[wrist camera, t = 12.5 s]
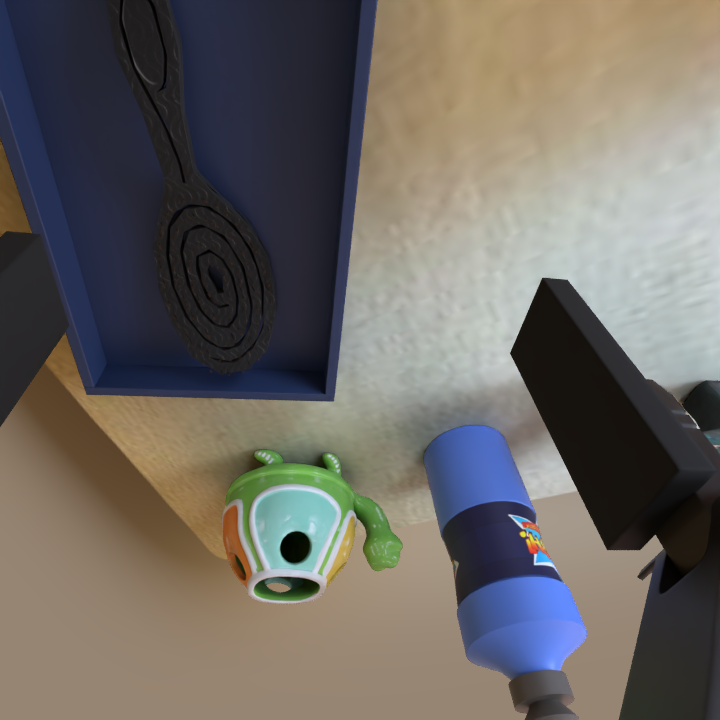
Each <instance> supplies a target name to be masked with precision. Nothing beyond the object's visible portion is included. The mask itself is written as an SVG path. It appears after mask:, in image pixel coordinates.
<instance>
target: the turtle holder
mask: <svg viewBox="0 0 720 720" xmlns="http://www.w3.org/2000/svg"><path fill="white" fill-rule="evenodd" d="M254 456H255V458H256V459H257V460H258V461H260V462H261V463H263V464H264V465H265V466H264V467H260V468H258V469H255V470H252V471H249V472H247V473H244V474H242V475H241V476H239V477H238V478H237V479H236V480H235V481H234V482H233V483H232V484H231V486H230V488H229V490H228V492H227V495H226V507H225V509H224V510H223V513H222V526H223V541H224V546H225V550H226V554H227V557H228V560H229V563H230V565H231V568H232V570H233V571H234V573H235V574H236V576H237V577H238V579H239V580H240V581H241V583H242V585H243V586H244V588H245V589H246V590H247V592H248V594H249V596H250V597H251V598H253V599H255V600H258V601H261V602H267V603H275V604H300V603H306V602H311V601H313V600H315V599H317V598H319V597H320V596H321V595H322V594H323V592H324V590H325V588H326V587H327V586H328V585H329V584H330V582H332V581H333V579H334V578H335V577H336V576H337V575H338V573H339V572H340V571H341V570H342V568H343V567H344V566H345V564H346V562H347V560H348V557H349V555H350V552H351V549H352V546H353V542H354V535H355V527H356V523H357V519H358V520H360V521H361V522H362V524H363V525H364V527H365V529H366V534H367V537H366V540H365V543H364V546H363V552H364V554H365V556H366V558H367V561H368V563H369V565H370V566H371V568H372V569H373V570H375V571H381V570H383V569H385V568H393V567H395V566H396V565H397V563H398V561H399V557H400V551H401V549H402V548H403V545H402V542H401V541H400V539H399V538H398V537H397V536H396V535H395V534H394V533H393V532H392V531H391V529H390V526H389V523H388V520H387V518H386V516H385V514H384V513H383V511H382V509H381V508H380V506H379V505H378V504H377V503H375V502H374V501H373V500H372V499H370V498H367V497H364V496H360V495H358V494H356V493H355V492H354V490H353V489H352V488H351V486H350V485H349V484H348V483H347V482H346V481H345V480H344V479H343V478H341V465H340V461H339V459H338V458H337V457H336V456H335V455H333V454H331V453H325V454H323V456H322V460H323V463H324V465H325V467H326V469H323V468H320V467H316V466H312V465H307V464H298V463H284V462H283V459H282V457H281V456H280V455H279V454H278V453H276V452H274V451H271V450H258V451H256V452H255V453H254ZM269 583H281V584H284V585H287V586H288V587H290V588H291V589H290V590H289V591H286V592H281V593H279V592H275V591H272V590H270V589H269V588H268V587H267V586H266V585H267V584H269Z"/></svg>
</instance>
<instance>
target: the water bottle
mask: <svg viewBox="0 0 720 720" xmlns="http://www.w3.org/2000/svg"><path fill="white" fill-rule="evenodd" d="M424 464H425V468H426V472H427V477H428V481H429V486H430V490H431V494H432V499H433V503H434V508H435V512H436V516H437V520H438V525H439V528H440V533H441V537H442V539H443V541H444V543H445V546H446V549H447V551H448V554H449V556H450V559H451V562H452V564H453V570H454V578H455V586H456V596H457V604H458V609H457V617H458V621H459V626H460V630H461V634H462V639H463V644H464V647H465V652H466V656H467V658H468V660H469V661H470V662H472V663H474V664H476V665H478V666H482V667H485V668H488V669H491V670H495V671H498V672H501V673H503V674H504V675H505V676H507V677H508V678H509V679H510V680H511V681H510V682H509V689H510V693H511V696H512V700H513V703H514V707H515V710H516V711H517V712H520V713H527V716H526V718H525V720H578V719H579V717H578V716H577V715H576V714H575V713H573V712H572V711H571V710H570V709H568V708H567V707H566V706H567V705H569V704H571V703H572V702H573V701H574V696H573V693H572V690H571V688H570V685H569V682H568V679H567V677H566V674H565V673H564V672H562V671H560V669H561V667H562V664H563V661H564V660H565V658H567V657H568V656H569V655H570V654H571V653H572V652H573V651H574V650H576V648H578V647H579V646H580V645H581V644H582V643H583V642H584V640H585V639H586V637H587V630H586V628H585V626H584V623H583V621H582V618H581V616H580V614H579V611H578V609H577V606H576V604H575V602H574V599H573V597H572V594H571V592H570V590H569V589H568V587H567V585H565V584H564V582H563V581H562V579H561V577H560V575H559V573H558V571H557V570H556V568H555V566H554V564H553V562H552V560H551V558H550V557H549V555H548V553H547V551H546V549H545V547H544V545H543V543H542V539H541V535H540V531H539V527H538V523H537V519H536V513H535V510H534V508H533V505H532V503H531V501H530V498H529V496H528V493H527V491H526V488H525V486H524V483H523V481H522V478H521V476H520V474H519V471H518V469H517V466H516V464H515V461H514V459H513V457H512V454H511V452H510V449H509V447H508V444H507V442H506V440H505V438H504V436H503V435H502V434H501V433H500V432H498V431H497V430H495V429H493V428H490V427H487V426H480V425H469V426H462V427H458V428H455V429H452V430H450V431H447V432H445V433H443V434H442V435H440V436H438V437H437V438H436V439H435V440H433V441H432V442H431V444H430V445H429V446H428V448H427V449H426V451H425V455H424Z"/></svg>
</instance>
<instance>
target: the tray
mask: <svg viewBox="0 0 720 720" xmlns="http://www.w3.org/2000/svg"><path fill="white" fill-rule="evenodd" d="M169 1H170V5H171V8H172V11H173V14H174V18H175V21H176V24H177V27H178V31H179V34H180V37H181V40H182V58H183V80H184V102H185V112H186V117H187V122H188V127H189V132H190V137H191V142H192V147H193V152H194V157H195V162H196V167H197V170H198V171H199V172H200V173H201V174H202V175H203V176H204V177H205V178H206V179H207V180H208V181H209V182H210V184H211V185H212V186H213V187H214V188H215V189H216V190H217V191H218V192H219V193H220V194H221V195H222V196H223V197H224V198H225V199H226V200H227V201H228V202H229V203H230V204H232V205H233V206H234V207H235V208H236V209H237V210H238V211H239V212H240V213H241V214H242V215H243V216H244V217H245V218H246V219H248V220H249V222H250V223H251V225H252V227H253V228H254V230H255V232H256V233H257V235H258V237H259V239H260V240H261V242H262V244H263V245H264V247H265V249H266V250H267V252H268V254H269V258H270V263H271V268H272V274H273V278H274V283H275V288H276V297H277V309H276V315H275V321H274V328H273V331H272V334H271V338H270V341H269V345H268V348H267V350H266V351H265V353H263V354H262V355H261V357H259V360H258V359H257V360H256V361H255V362H254V363H253V364H252V365H251V367H252V369H251V368H250V367H249V368H248V369H247V370H248V371H246V370H243V373H242V371H237V372H230V373H229V374H230V376H229V374H228V373H224V374H223V375H222V374H221V373H219V372H217V371H215V370H214V369H212V368H210V367H209V366H207V365H205V364H204V363H202V362H200V361H198V360H197V359H195V358H193V357H192V356H191V355H190V353H189V352H188V350H187V349H186V347H185V345H184V344H183V342H182V340H181V339H180V337H179V335H178V334H177V332H176V330H175V329H174V327H173V325H172V324H171V321H170V318H169V316H168V313H167V310H166V308H165V305H164V302H163V300H162V297H161V294H160V292H159V286H158V280H157V273H156V267H155V260H154V254H153V243H154V238H155V234H156V229H157V223H158V218H159V215H160V210H161V205H162V197H163V188H164V175H163V172H162V170H161V167H160V164H159V161H158V158H157V155H156V152H155V150H154V147H153V144H152V141H151V138H150V135H149V132H148V130H147V127H146V124H145V121H144V118H143V115H142V113H141V110H140V108H139V106H138V103H137V101H136V99H135V97H134V94H133V92H132V90H131V88H130V85H129V83H128V81H127V79H126V76H125V74H124V72H123V70H122V67H121V65H120V63H119V61H118V58H117V56H116V54H115V49H114V43H113V38H112V32H111V27H110V21H109V15H108V10H107V4H106V0H0V138H1V141H2V144H3V147H4V150H5V153H6V156H7V159H8V162H9V165H10V168H11V171H12V174H13V177H14V180H15V183H16V186H17V189H18V192H19V195H20V198H21V201H22V204H23V207H24V210H25V213H26V216H27V219H28V222H29V225H30V228H31V230H32V233H33V234H41V237H42V240H43V243H44V246H45V250H46V253H47V256H48V259H49V262H50V266H51V269H52V272H53V275H54V278H55V281H56V285H57V288H58V291H59V294H60V297H61V301H62V304H63V307H64V310H65V313H66V317H67V320H68V323H69V327H68V328H67V330H66V331H65V332H66V335H67V338H68V341H69V344H70V347H71V350H72V353H73V356H74V359H75V362H76V365H77V368H78V371H79V374H80V377H81V379H82V382H83V385H84V388H85V391H86V394H87V395H122V396H157V397H193V398H228V399H264V400H299V401H334V396H335V388H336V378H337V369H338V360H339V351H340V341H341V332H342V323H343V314H344V304H345V295H346V286H347V277H348V267H349V258H350V249H351V240H352V230H353V221H354V212H355V203H356V194H357V184H358V175H359V166H360V157H361V147H362V138H363V129H364V120H365V110H366V101H367V92H368V83H369V73H370V64H371V55H372V46H373V37H374V27H375V18H376V9H377V0H169ZM166 84H167V77H166V83H165V85H164V88H165V87H166ZM164 88H163V89H164ZM159 113H160V112H159ZM160 115H161V114H160ZM161 117H162V116H161ZM162 119H163V118H162ZM163 121H164V120H163ZM164 123H165V122H164ZM165 125H166V124H165ZM166 127H167V125H166ZM167 129H168V128H167ZM189 205H193V204H188V205H186V206H185V207H183V208H181V209H179V210H178V211H177V212H176V214H175V216H174V218H173V221H172V223H171V225H170V229H171V226H172V224H173V222H174V220H175V219H176V217H177V214H178V213H180V212H181V211H182V210H184V209H185V208H186V207H187V206H189ZM198 225H201V224H198ZM190 229H191V228H190ZM190 229H188V231H187V232H186V233H185V234H184V246H185V242H186V238H187V235H188V233H189V231H190ZM251 250H252V249H251ZM252 252H253V251H252ZM200 255H201V254H199V257H200ZM211 265H212V264H211V263H210V270H209V271H210V273H211V275H212V277H213V279H214V281H215V283H216V285H217V287H218V288H223V279H222V274H221V273H220V272H219V271H218V270H217V269H216V268H215V267H214V266H211ZM198 266H199V269H200V263H199V260H198ZM243 267H244V265H243ZM244 269H245V268H244ZM200 272H201V271H200ZM260 277H261V275H260ZM261 283H262V288H263V315H262V318H261V322H260V326H259V330H258V334H257V336H256V339H257V338H258V336H259V334H260V331H261V328H262V325H263V322H264V285H263V281H262V278H261ZM249 291H250V290H249ZM237 294H238V293H237ZM250 295H251V294H250ZM251 300H252V299H251ZM238 307H239V297H238V301H237V310H236V313H235V315H234V317H233V318H232V320H231V321H233V320H234V319H235V318H236V316H237V314H238ZM252 312H253V303H251V312H250V318H249V321H248V325H247V328H246V331H245V333H244V335H245V334H246V333H247V331H248V329H249V326H250V322H251V318H252ZM231 321H230V322H231ZM230 322H229V323H230ZM244 335H243V336H244ZM243 336H242V337H243ZM242 337H241V338H242ZM241 338H240V339H241ZM240 339H239V340H238V342H239V341H240ZM256 339H255V340H256ZM238 342H237V343H238ZM254 342H255V341H254ZM254 342H253V343H254ZM251 345H252V344H251ZM251 345H250V346H251ZM250 346H249V347H250ZM247 350H248V349H247ZM247 350H246V351H247ZM246 351H245V352H246ZM203 364H204V366H203ZM209 368H210V369H209ZM210 370H211V371H212V372H213V373H211V372H210ZM232 373H233V375H232Z"/></svg>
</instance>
